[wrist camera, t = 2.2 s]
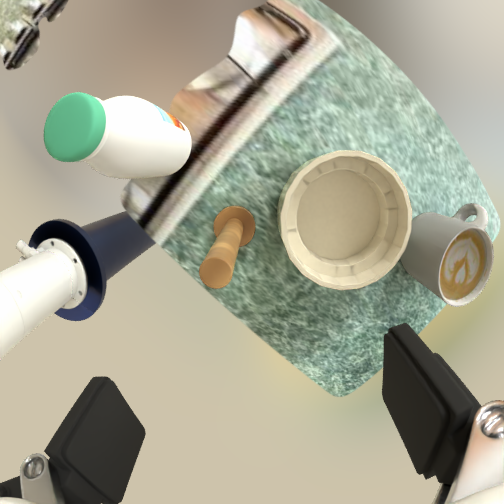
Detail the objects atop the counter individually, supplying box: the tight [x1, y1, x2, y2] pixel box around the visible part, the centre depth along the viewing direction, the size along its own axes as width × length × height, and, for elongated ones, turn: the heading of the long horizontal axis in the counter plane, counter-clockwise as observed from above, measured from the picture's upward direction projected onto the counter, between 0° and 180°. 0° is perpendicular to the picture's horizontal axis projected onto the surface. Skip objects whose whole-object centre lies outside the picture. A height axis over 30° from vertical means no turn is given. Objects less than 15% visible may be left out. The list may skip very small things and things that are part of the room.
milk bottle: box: [44, 92, 191, 179], centre depth 23 cm, size 8×8×20 cm
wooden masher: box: [199, 206, 255, 289], centre depth 27 cm, size 5×5×17 cm
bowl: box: [277, 151, 412, 290], centre depth 31 cm, size 15×15×6 cm
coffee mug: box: [400, 203, 494, 307], centre depth 30 cm, size 13×10×10 cm
